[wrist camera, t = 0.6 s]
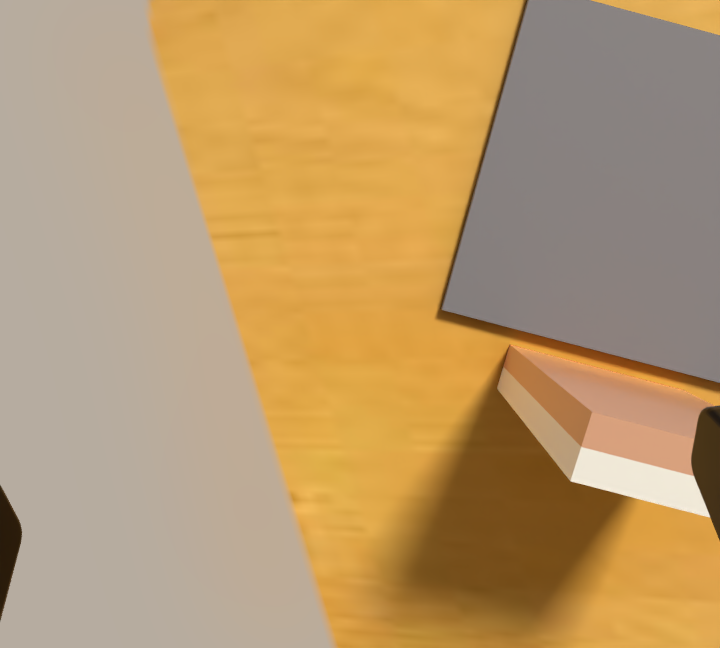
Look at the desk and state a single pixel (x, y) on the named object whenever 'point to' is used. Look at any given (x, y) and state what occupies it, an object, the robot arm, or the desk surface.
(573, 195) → the gray pad
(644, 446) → the tile
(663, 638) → the desk surface
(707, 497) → the robot arm
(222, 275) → the desk surface
